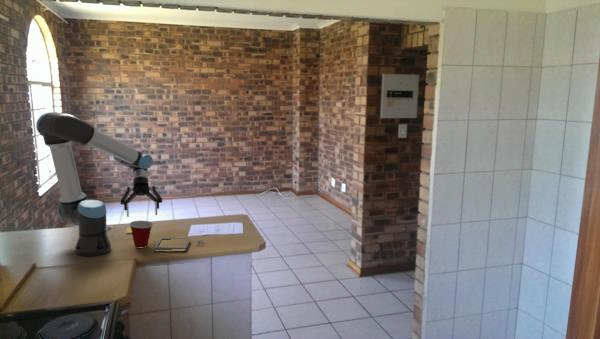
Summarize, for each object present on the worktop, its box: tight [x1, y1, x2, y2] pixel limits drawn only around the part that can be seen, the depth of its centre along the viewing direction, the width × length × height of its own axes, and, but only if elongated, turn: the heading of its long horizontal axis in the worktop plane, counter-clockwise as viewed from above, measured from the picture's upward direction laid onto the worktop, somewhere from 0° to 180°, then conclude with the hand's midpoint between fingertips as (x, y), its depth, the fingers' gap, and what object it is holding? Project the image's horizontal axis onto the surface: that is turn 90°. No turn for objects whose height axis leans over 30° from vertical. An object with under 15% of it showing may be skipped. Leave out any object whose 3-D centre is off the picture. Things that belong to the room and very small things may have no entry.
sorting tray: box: [153, 237, 190, 251], centre depth 208 cm, size 15×15×2 cm
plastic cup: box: [129, 220, 154, 247], centre depth 206 cm, size 11×11×12 cm
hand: (142, 214), depth 213 cm, fingers open, 13 cm apart
